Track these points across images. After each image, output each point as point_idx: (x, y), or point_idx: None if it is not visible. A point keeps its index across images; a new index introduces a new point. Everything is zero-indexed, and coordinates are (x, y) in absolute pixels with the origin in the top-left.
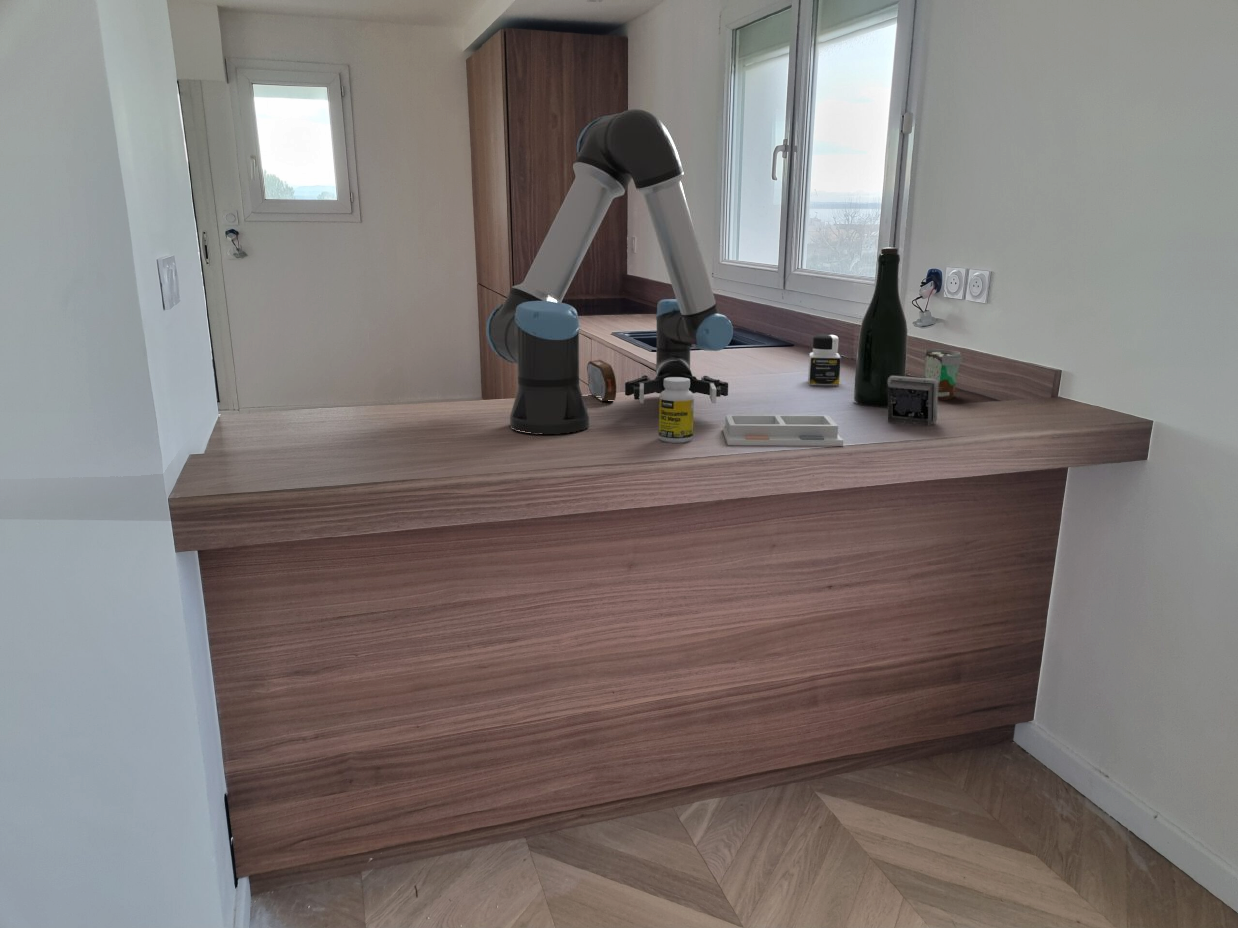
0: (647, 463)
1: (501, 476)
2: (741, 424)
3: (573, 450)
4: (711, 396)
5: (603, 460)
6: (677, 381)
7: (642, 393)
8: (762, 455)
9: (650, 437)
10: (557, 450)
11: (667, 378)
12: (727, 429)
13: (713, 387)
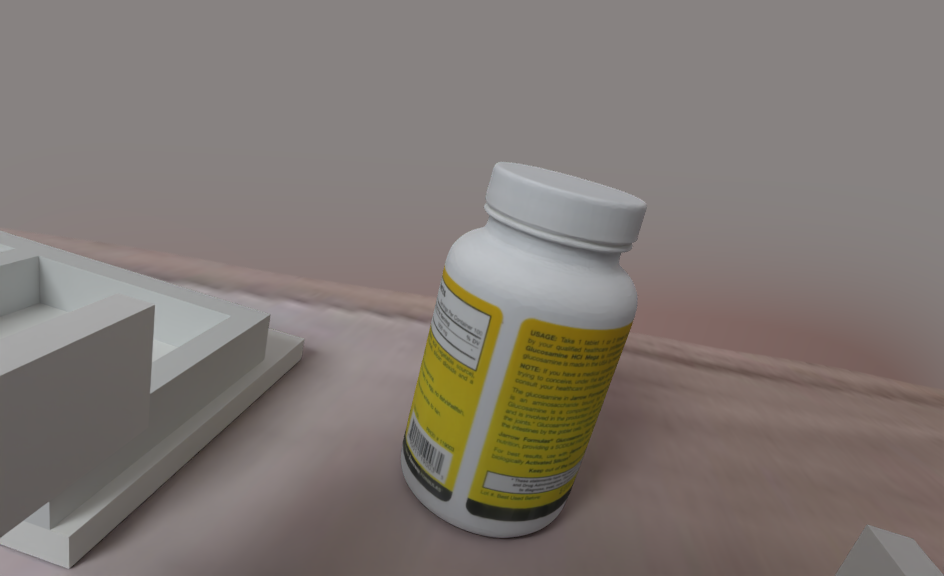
0: None
1: (871, 383)
2: (208, 304)
3: (856, 483)
4: (77, 431)
5: (708, 385)
6: (568, 175)
7: (855, 566)
8: (273, 282)
9: (605, 555)
10: (913, 500)
11: (627, 199)
12: (185, 416)
13: (47, 337)
